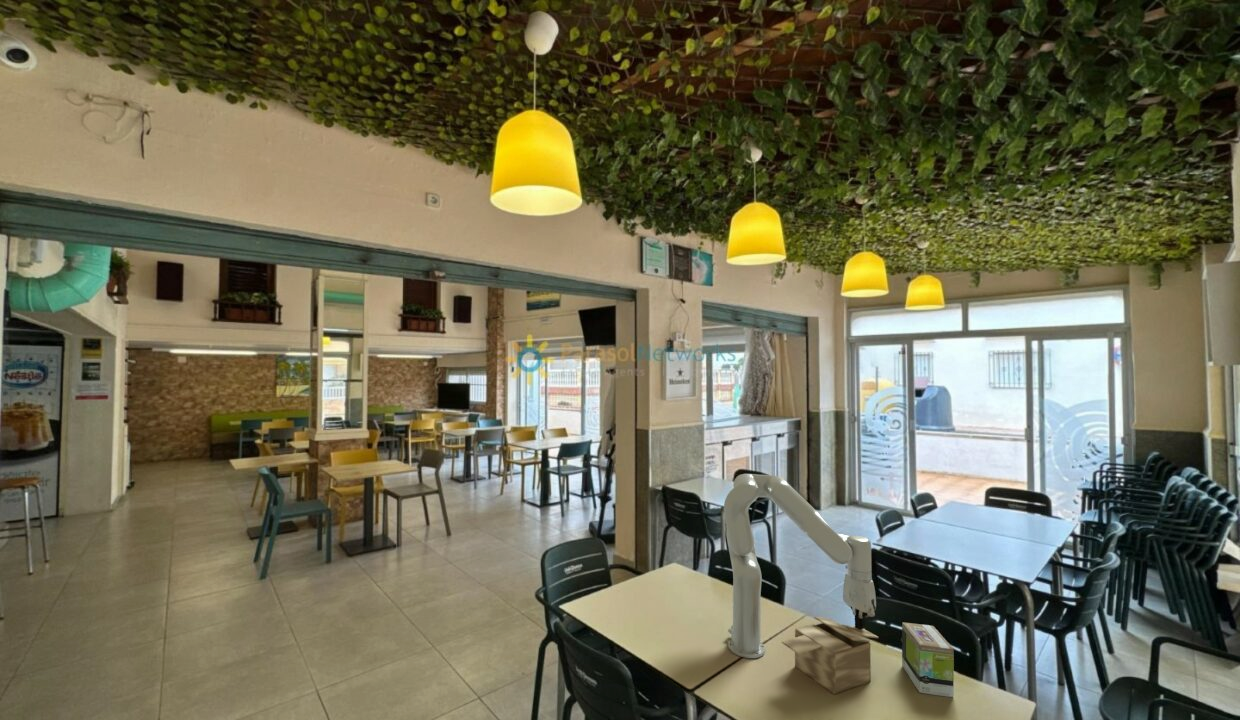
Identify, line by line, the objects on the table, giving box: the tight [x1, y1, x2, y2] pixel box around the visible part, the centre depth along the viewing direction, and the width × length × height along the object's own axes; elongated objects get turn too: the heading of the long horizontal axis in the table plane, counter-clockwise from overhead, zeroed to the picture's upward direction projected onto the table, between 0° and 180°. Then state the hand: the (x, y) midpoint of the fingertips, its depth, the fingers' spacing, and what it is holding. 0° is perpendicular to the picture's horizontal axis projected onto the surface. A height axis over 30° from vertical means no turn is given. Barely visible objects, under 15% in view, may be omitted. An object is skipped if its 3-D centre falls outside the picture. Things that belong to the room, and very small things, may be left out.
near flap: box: [781, 623, 852, 654], centre depth 156 cm, size 15×18×1 cm
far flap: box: [813, 616, 879, 643], centre depth 163 cm, size 15×18×1 cm
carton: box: [794, 622, 872, 695], centre depth 159 cm, size 16×16×12 cm
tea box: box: [901, 621, 955, 698], centre depth 156 cm, size 15×10×15 cm, turn 168°
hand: (860, 627), depth 168 cm, fingers closed
